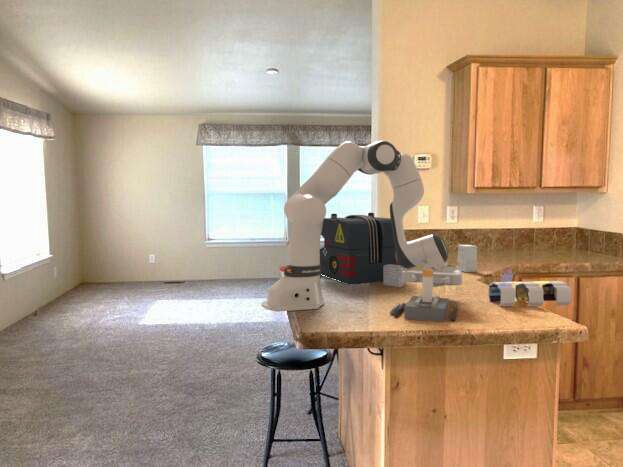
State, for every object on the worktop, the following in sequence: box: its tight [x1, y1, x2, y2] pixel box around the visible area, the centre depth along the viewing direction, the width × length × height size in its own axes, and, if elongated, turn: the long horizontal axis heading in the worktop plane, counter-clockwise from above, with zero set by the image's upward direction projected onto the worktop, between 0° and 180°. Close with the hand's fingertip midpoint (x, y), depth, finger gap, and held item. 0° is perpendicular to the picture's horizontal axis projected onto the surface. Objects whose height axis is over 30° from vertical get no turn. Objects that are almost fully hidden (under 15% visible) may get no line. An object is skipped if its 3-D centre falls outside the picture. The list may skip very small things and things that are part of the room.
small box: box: [457, 244, 478, 273], centre depth 245 cm, size 8×6×13 cm
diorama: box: [488, 269, 572, 307], centre depth 173 cm, size 25×10×13 cm, turn 93°
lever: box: [421, 268, 434, 303], centre depth 158 cm, size 3×3×10 cm
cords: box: [389, 302, 459, 321], centre depth 159 cm, size 16×21×1 cm
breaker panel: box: [403, 294, 450, 323], centre depth 159 cm, size 16×12×5 cm
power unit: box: [320, 212, 399, 285], centre depth 227 cm, size 28×28×30 cm
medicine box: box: [382, 264, 405, 288], centre depth 208 cm, size 8×4×9 cm, turn 47°
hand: (429, 280), depth 162 cm, fingers open, 8 cm apart
